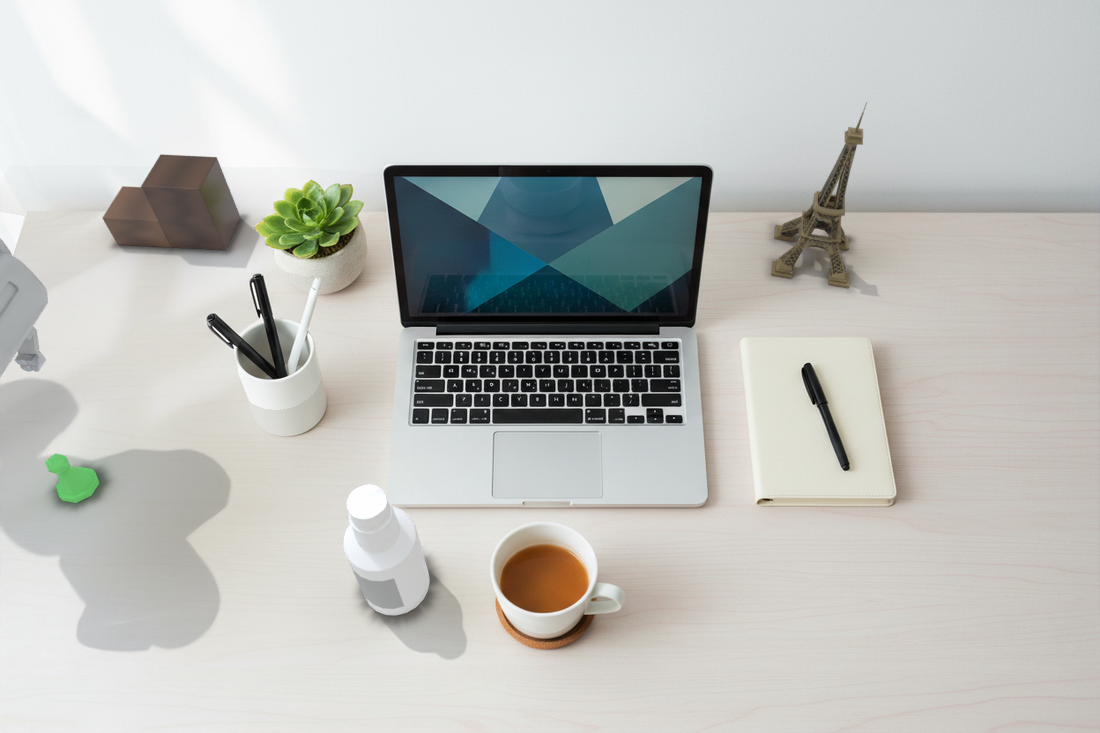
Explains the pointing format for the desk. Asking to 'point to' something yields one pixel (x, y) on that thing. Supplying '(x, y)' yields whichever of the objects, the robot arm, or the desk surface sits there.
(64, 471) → the game piece
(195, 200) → the stepped wooden block
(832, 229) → the eiffel tower
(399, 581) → the white bottle
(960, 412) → the desk surface
